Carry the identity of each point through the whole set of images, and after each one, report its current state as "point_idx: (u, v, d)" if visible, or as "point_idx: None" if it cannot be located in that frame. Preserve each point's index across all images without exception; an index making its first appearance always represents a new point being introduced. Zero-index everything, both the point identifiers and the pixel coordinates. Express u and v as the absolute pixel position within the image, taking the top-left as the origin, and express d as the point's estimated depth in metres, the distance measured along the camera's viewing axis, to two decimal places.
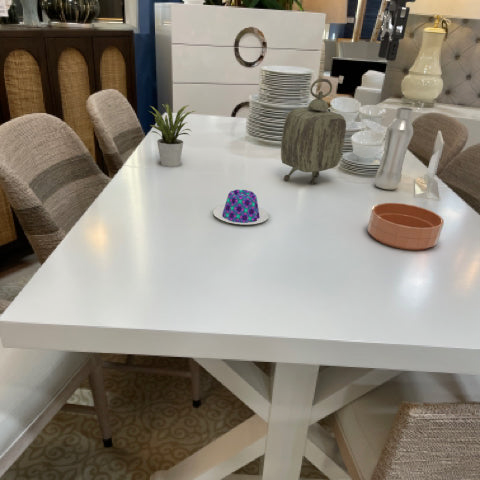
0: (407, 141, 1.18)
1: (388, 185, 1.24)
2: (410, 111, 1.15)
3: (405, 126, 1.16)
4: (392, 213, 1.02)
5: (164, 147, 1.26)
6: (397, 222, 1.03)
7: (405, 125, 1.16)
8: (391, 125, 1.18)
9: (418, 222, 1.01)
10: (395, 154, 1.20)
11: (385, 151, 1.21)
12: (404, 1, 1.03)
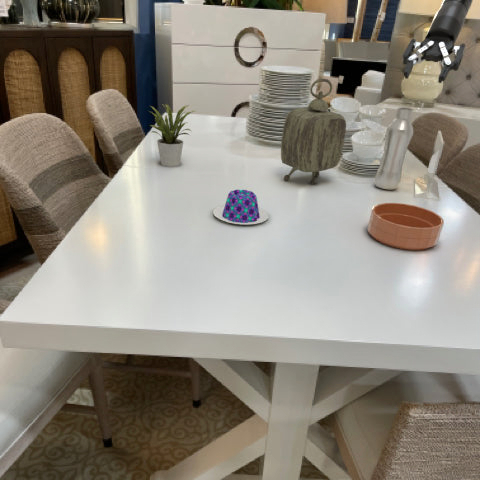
0: (407, 141, 1.18)
1: (388, 185, 1.24)
2: (410, 111, 1.15)
3: (405, 126, 1.16)
4: (392, 213, 1.02)
5: (164, 147, 1.26)
6: (397, 222, 1.03)
7: (405, 125, 1.16)
8: (391, 125, 1.18)
9: (418, 222, 1.01)
10: (395, 154, 1.20)
11: (385, 151, 1.21)
12: None
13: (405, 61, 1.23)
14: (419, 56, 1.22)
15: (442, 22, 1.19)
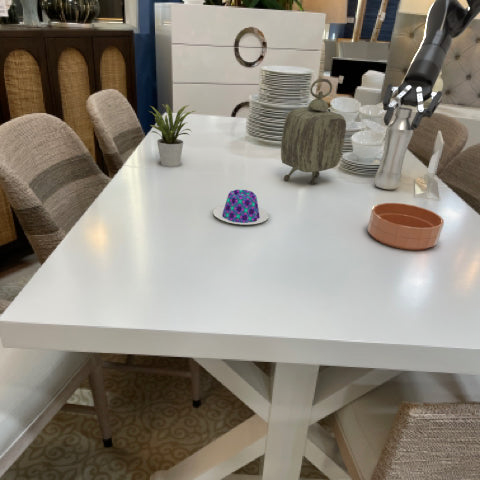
0: (407, 141, 1.18)
1: (388, 185, 1.24)
2: (409, 111, 1.15)
3: (405, 126, 1.16)
4: (392, 213, 1.02)
5: (164, 147, 1.26)
6: (397, 222, 1.03)
7: (405, 124, 1.16)
8: (391, 125, 1.18)
9: (418, 222, 1.01)
10: (395, 154, 1.20)
11: (385, 151, 1.21)
12: (432, 88, 1.18)
13: (385, 107, 1.20)
14: (399, 102, 1.18)
15: (419, 66, 1.16)
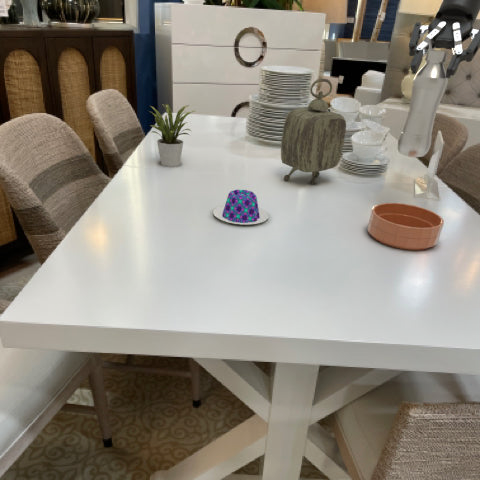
0: (440, 93, 0.93)
1: (415, 152, 0.99)
2: (444, 53, 0.90)
3: (438, 73, 0.91)
4: (392, 213, 1.02)
5: (164, 147, 1.26)
6: (397, 222, 1.03)
7: (438, 71, 0.91)
8: (419, 73, 0.93)
9: (418, 222, 1.01)
10: (424, 111, 0.95)
11: (411, 107, 0.96)
12: (472, 26, 0.92)
13: (412, 51, 0.95)
14: (430, 43, 0.93)
15: None
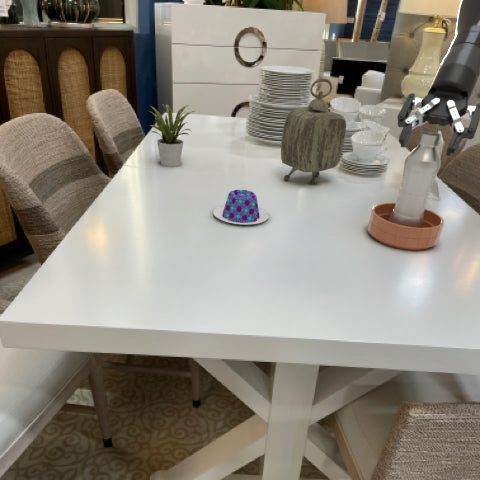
0: (433, 176, 0.90)
1: None
2: (437, 137, 0.87)
3: (430, 157, 0.88)
4: None
5: (164, 147, 1.26)
6: None
7: (431, 155, 0.88)
8: (411, 155, 0.89)
9: None
10: (416, 193, 0.91)
11: (403, 188, 0.93)
12: None
13: (401, 123, 0.91)
14: (420, 118, 0.89)
15: (451, 73, 0.86)
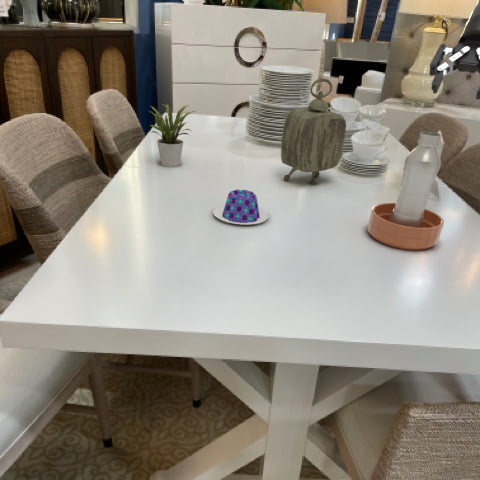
0: (433, 176, 0.90)
1: None
2: (437, 137, 0.87)
3: (430, 157, 0.88)
4: None
5: (164, 147, 1.26)
6: None
7: (431, 155, 0.88)
8: (411, 155, 0.89)
9: None
10: (416, 193, 0.91)
11: (403, 188, 0.93)
12: None
13: (433, 72, 0.98)
14: (451, 65, 0.97)
15: None
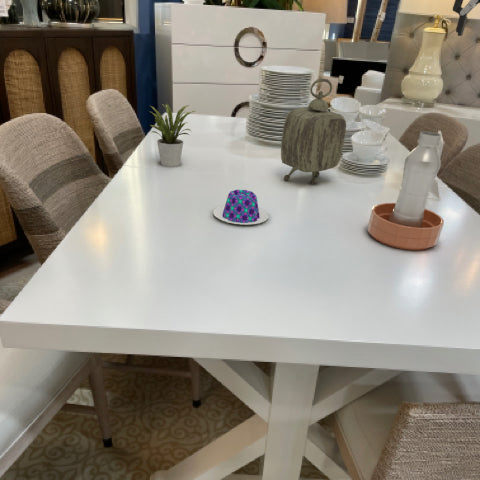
0: (433, 176, 0.90)
1: None
2: (437, 137, 0.87)
3: (430, 157, 0.88)
4: None
5: (164, 147, 1.26)
6: None
7: (431, 155, 0.88)
8: (411, 155, 0.89)
9: None
10: (416, 193, 0.91)
11: (403, 188, 0.93)
12: None
13: None
14: (473, 6, 1.03)
15: None
